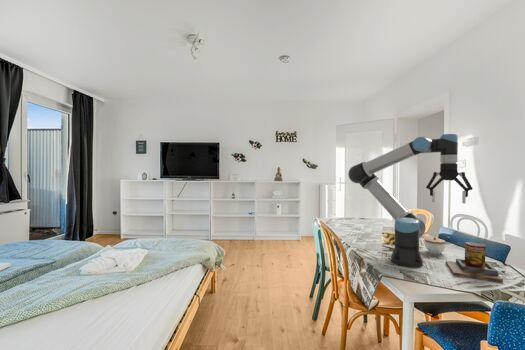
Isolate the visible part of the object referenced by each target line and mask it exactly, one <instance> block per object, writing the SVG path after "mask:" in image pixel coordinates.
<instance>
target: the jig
mask: <svg viewBox="0 0 525 350" xmlns="http://www.w3.org/2000/svg"><path fill="white" fill-rule="evenodd" d="M445 264H446V267H447V268H448V269H449V271H450V272H451V273H452V275H453V276H455V277H461V278H467V279H468V278H469V279H475V280H482V281H483V280H484V281H487V282H488V281H489V282H496V283H497V282H498V283H503V282H504V279H503V278H502V277H501V276H500V275H499V271H498V270H497V269H496V268H495V267H494V266H493V265H491V263H489V262H488V261H485V269H483V268H475V267H467V266H465V258H455V261H452V260H451V261H449V260H445Z"/></svg>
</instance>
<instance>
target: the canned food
mask: <svg viewBox="0 0 525 350" xmlns="http://www.w3.org/2000/svg"><path fill="white" fill-rule="evenodd" d="M464 259H465V266H467V267H475V268H483V269H485V262H486V244H484V243H482V242H481V243H480V242H478V241H476V242H475V241H465V242H464Z"/></svg>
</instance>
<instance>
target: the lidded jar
mask: <svg viewBox="0 0 525 350" xmlns="http://www.w3.org/2000/svg"><path fill="white" fill-rule="evenodd" d="M424 247H425V248H426V250H427V251H428V253H430V254H433V255H440V254H442V253H443V252H444V251H445V249H446V240H445V239H441V238H437V237H436V236H433V237H425V238H424Z"/></svg>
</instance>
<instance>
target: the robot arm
mask: <svg viewBox="0 0 525 350" xmlns="http://www.w3.org/2000/svg"><path fill="white" fill-rule="evenodd" d="M458 140H459V138H458V135H457V133H444V134H441V135H440V137H439V138H428V137H427V136H417V137H416V138H415V139H414V140H412V141H410V142H408V143H406V144H404V145H402V146H399V147H397V148H394V149H393V150H390V151H388V152H386V153H384V154H382V155H380V156H377V157H376V158H373V159H370V160H368V161H362V162H360V163H357V164H355V165H353V166H351V167H350V168H349V170H348V174H347V175H348V178H349V180H350V181H351V182H352V183H354V184H359V185H360V186H361V188H363V189H365V190H368V192H369V193H370V194H371V195H372V197H374V198H375V199H376V200H377V201H378V203H379V204H380V205H381V206H382V207H383V208H384V209H385V210H386V212H387V213H388V215H390V216H391V218H393V219H394V247H393V251H392V254H391V255H390V261H391V262H392V263H393V264H395V265H397V266H398V265H399V266H403V267H408V268H420V267H422V266H423V265H424V263H423V262H424V261H423V258H422V255H421V251H420V238H421V237H422V236H423V235H424V234H425V233H426V223H425V222H424V221H423V219H421V218H420V217H418V216H416V215H415V214H414V213H413V212H412V210H411V211H410V210H407V209H406V208H405V207H404V206H403V205H402V204H401V203H400V202H399V201H398V200H397V198H396V197H395V196H393V194H392V193H391V192H390V191H389V190H388V189H387V188H386V187H385V186H384V185H383V183H381V181H380V177H379V176H378V174H377V173H378V172H380V171H382V170H384V169H386V168H389V167H392V166H393V165H397V164H398V163H400V162H403V161H405V160H407V159H410V158H412V157H414V156H417V155H419V154H430V153H431V154H432V153H440V155H439V156H440V158H439V160H440V161H439V162H440V165H439V167H440V169H439V172H436V171H434V172H433V173H432V177H431V178H430V180H429V182H428V183H427V185H426V186H425V188H426V189H428V190H429V196H430V197H431V202H433V203H435V199H436V197H435V194H436V192H435V188H436V187H437V186H438V185H440V183H441V182H442V181H455V182H456V183H457V185H458V186H460V188H461V189H463V190H461V192H462V195H461V196H462V198H461V202H462V204H466V198H468V197H469V191H472V190H473V187H472V185H471V183H470V182H469V180H468V178H467V177H466V172H464V171H461V172H458V153H459V151H458V148H459V142H458ZM438 176H440V178H439V179H438V180H437V181H435V180H436V177H438ZM458 176H459V177H461V179H462V181H463V182H464V183H462V182H461V181H460V180H459V178H457V177H458ZM434 181H435V183H434V184H433V182H434ZM432 184H433V185H432ZM464 184H465V185H466V186H465V185H464Z"/></svg>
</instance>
